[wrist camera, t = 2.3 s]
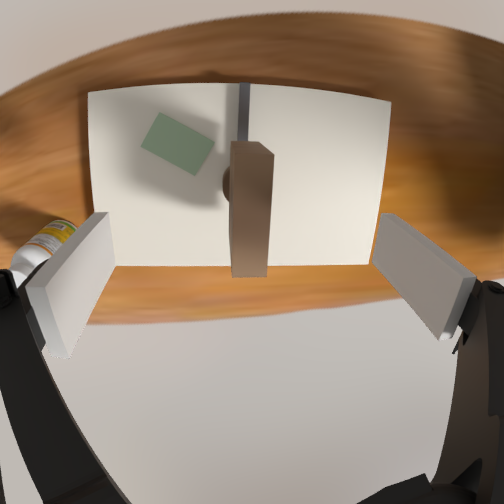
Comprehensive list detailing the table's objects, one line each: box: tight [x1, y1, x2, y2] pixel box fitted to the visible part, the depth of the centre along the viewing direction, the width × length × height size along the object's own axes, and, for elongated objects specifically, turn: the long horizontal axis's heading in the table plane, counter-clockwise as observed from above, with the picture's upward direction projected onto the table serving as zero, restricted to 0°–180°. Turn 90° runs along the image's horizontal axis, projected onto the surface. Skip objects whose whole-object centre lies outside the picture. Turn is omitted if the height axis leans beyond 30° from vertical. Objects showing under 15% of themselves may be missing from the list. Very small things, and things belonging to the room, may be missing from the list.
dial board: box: [88, 83, 391, 266], centre depth 27 cm, size 26×16×2 cm, turn 88°
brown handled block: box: [222, 82, 275, 277], centre depth 20 cm, size 12×3×10 cm, turn 178°
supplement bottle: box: [8, 220, 78, 288], centre depth 24 cm, size 5×5×10 cm
